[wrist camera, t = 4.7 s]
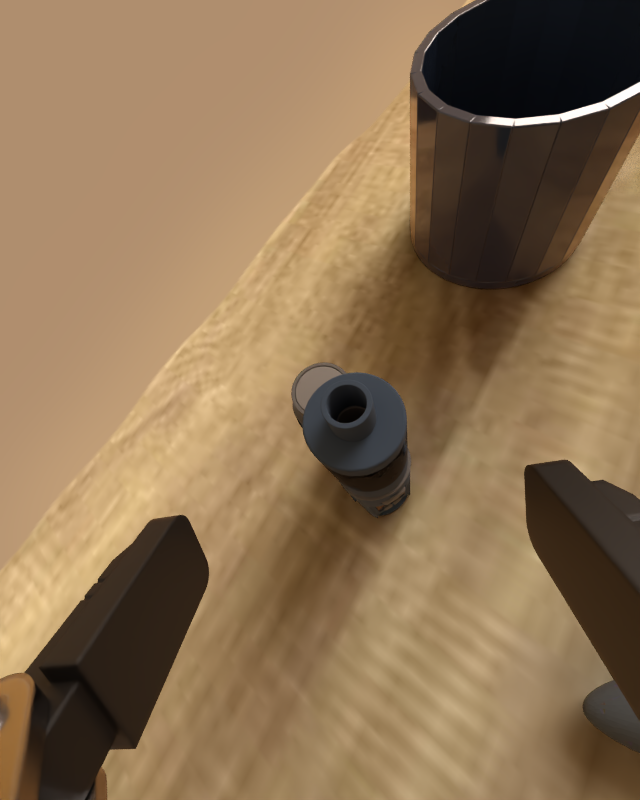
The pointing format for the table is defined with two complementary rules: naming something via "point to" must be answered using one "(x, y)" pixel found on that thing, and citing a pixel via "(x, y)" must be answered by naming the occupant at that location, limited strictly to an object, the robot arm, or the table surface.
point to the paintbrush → (613, 715)
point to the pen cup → (518, 133)
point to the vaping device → (356, 433)
